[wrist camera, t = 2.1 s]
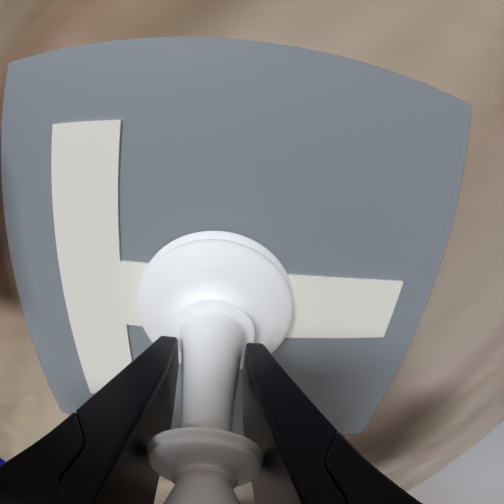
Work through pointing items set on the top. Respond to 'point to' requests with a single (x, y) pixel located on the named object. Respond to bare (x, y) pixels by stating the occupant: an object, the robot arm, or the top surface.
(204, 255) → the chess piece
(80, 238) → the letter sheet
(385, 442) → the top surface
